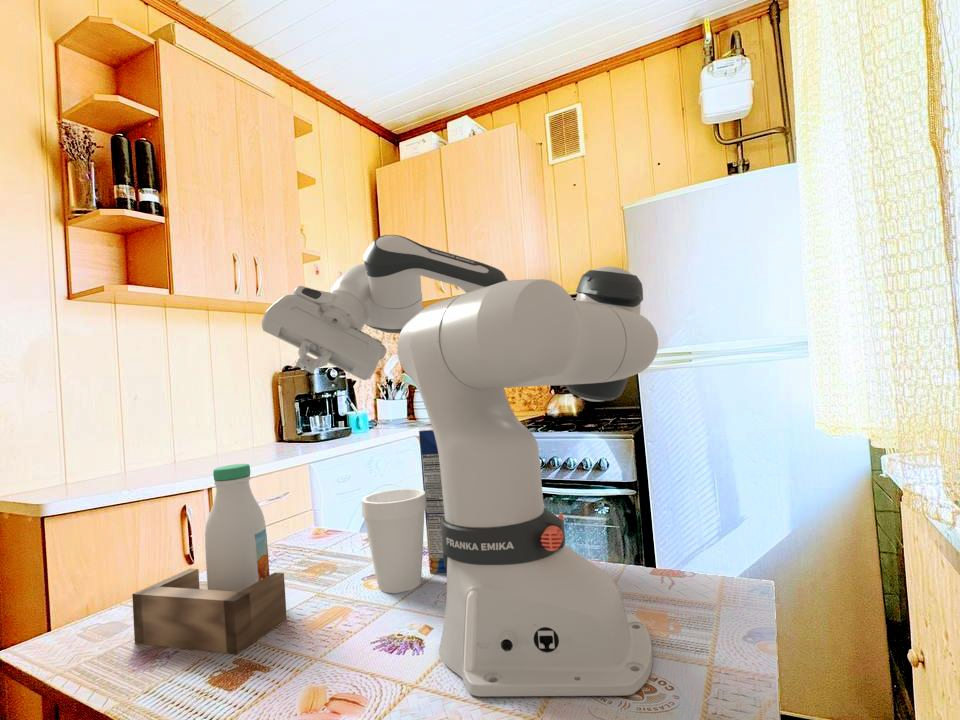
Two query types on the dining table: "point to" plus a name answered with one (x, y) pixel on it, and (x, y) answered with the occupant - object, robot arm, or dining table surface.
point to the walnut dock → (207, 613)
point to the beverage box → (432, 499)
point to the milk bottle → (235, 533)
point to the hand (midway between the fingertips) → (304, 367)
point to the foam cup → (396, 537)
